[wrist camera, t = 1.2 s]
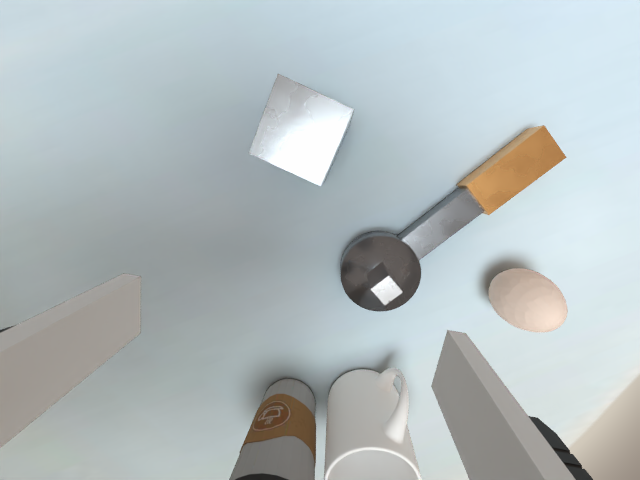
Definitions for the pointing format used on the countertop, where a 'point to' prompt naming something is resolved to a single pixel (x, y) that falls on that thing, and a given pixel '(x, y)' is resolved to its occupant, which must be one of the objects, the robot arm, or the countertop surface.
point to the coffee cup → (280, 436)
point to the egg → (527, 300)
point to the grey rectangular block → (301, 130)
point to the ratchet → (442, 223)
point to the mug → (369, 428)
